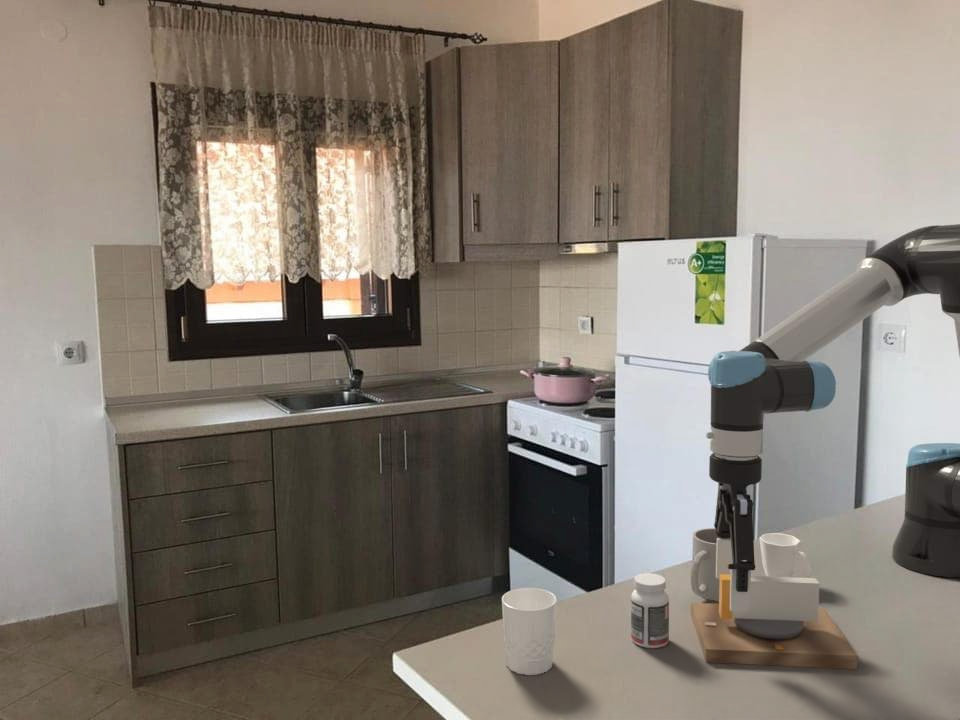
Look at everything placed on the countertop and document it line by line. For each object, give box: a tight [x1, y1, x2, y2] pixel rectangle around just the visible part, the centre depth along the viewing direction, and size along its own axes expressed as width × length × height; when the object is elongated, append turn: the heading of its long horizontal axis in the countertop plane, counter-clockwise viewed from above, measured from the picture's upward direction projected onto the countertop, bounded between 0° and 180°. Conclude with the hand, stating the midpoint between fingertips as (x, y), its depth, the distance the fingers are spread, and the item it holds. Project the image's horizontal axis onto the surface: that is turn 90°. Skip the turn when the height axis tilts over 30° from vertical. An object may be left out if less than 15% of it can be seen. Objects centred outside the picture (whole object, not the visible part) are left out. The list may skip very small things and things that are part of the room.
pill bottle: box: [630, 572, 670, 649], centre depth 123 cm, size 6×6×10 cm
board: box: [690, 602, 858, 670], centre depth 123 cm, size 21×16×2 cm
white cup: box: [501, 587, 557, 676], centre depth 117 cm, size 8×8×10 cm
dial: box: [718, 574, 820, 639], centre depth 123 cm, size 14×10×7 cm
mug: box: [690, 527, 744, 602], centre depth 140 cm, size 12×9×10 cm
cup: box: [758, 532, 812, 578], centre depth 144 cm, size 7×10×8 cm
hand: (731, 593), depth 123 cm, fingers open, 11 cm apart
